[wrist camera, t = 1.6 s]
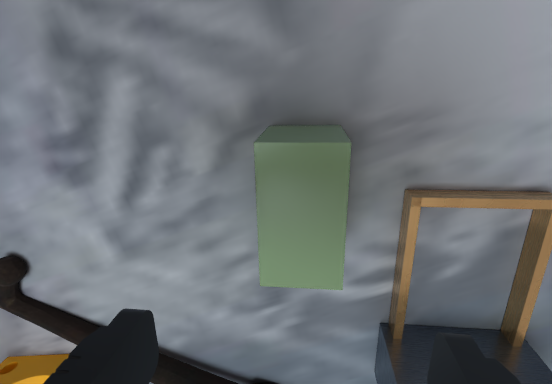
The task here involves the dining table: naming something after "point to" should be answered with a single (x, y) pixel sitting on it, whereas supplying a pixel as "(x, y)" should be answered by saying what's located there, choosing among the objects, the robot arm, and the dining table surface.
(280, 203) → the sage green upright block
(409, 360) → the grey block with frame
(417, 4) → the dining table surface
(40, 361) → the pipe clamp
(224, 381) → the wrench
